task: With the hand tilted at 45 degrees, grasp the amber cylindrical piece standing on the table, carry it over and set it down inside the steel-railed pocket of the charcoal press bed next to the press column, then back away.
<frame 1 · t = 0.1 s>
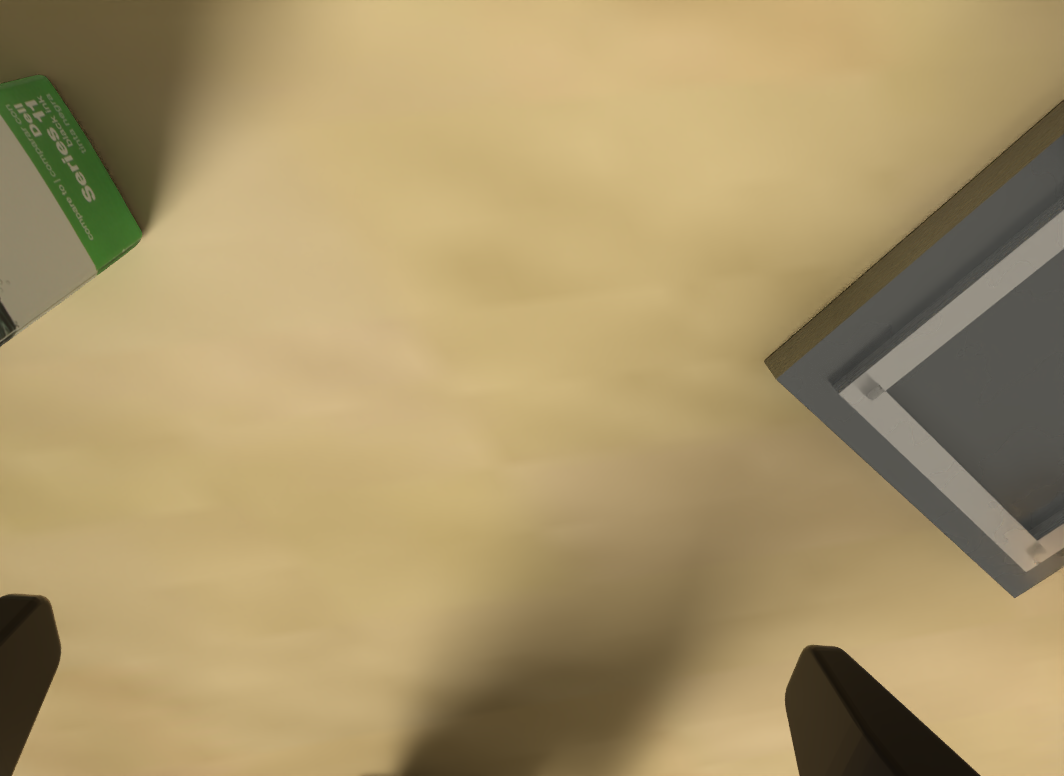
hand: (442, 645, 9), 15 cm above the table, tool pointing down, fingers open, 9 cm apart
press bed: (1058, 352, 24), on the table
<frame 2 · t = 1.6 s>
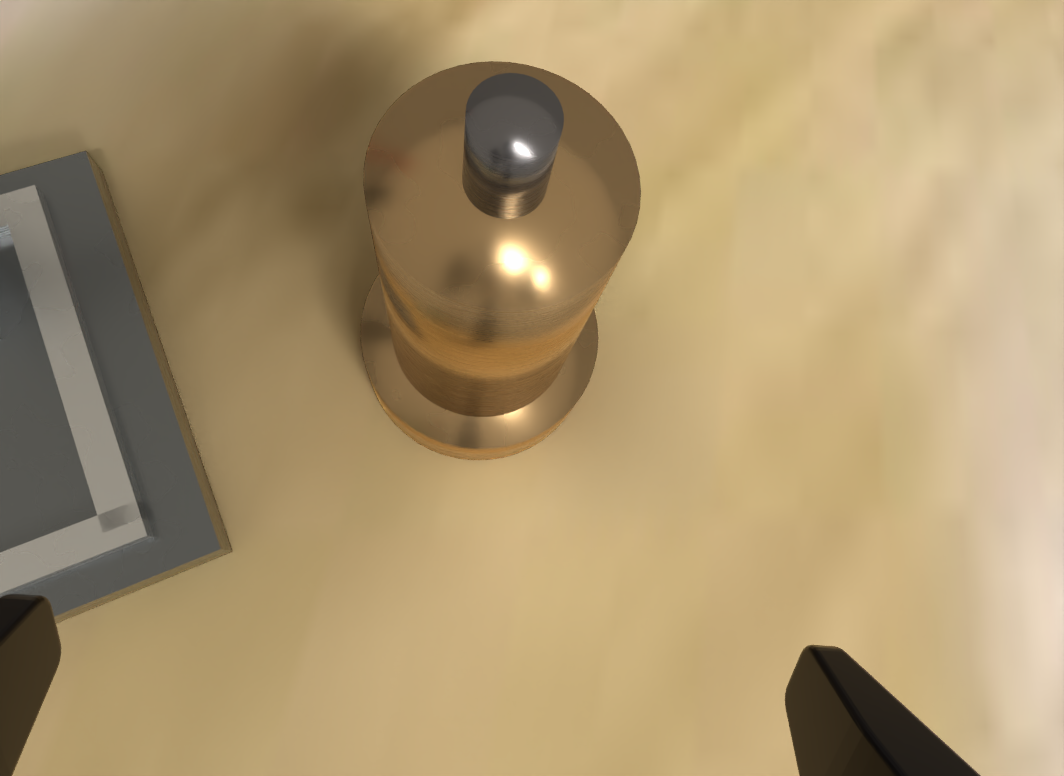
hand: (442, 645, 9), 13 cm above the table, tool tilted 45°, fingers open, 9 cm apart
amber cylindrical piece: (478, 352, 24), on the table
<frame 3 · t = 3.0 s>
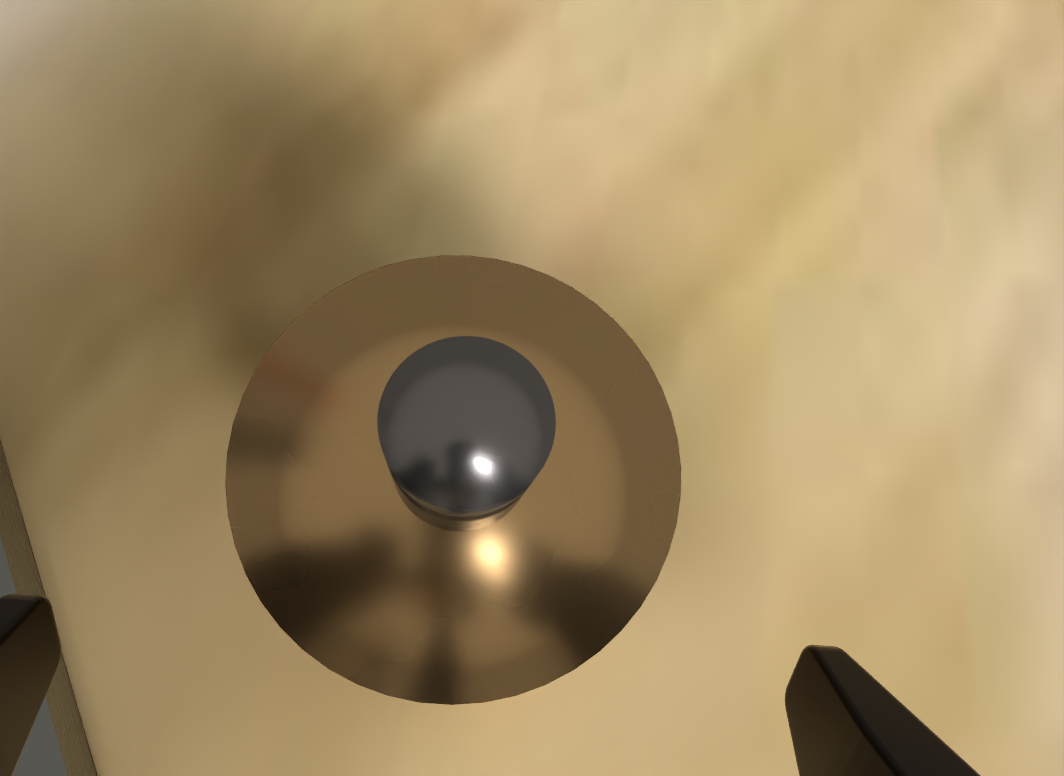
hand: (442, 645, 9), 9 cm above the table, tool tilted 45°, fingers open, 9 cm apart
amber cylindrical piece: (449, 540, 19), on the table
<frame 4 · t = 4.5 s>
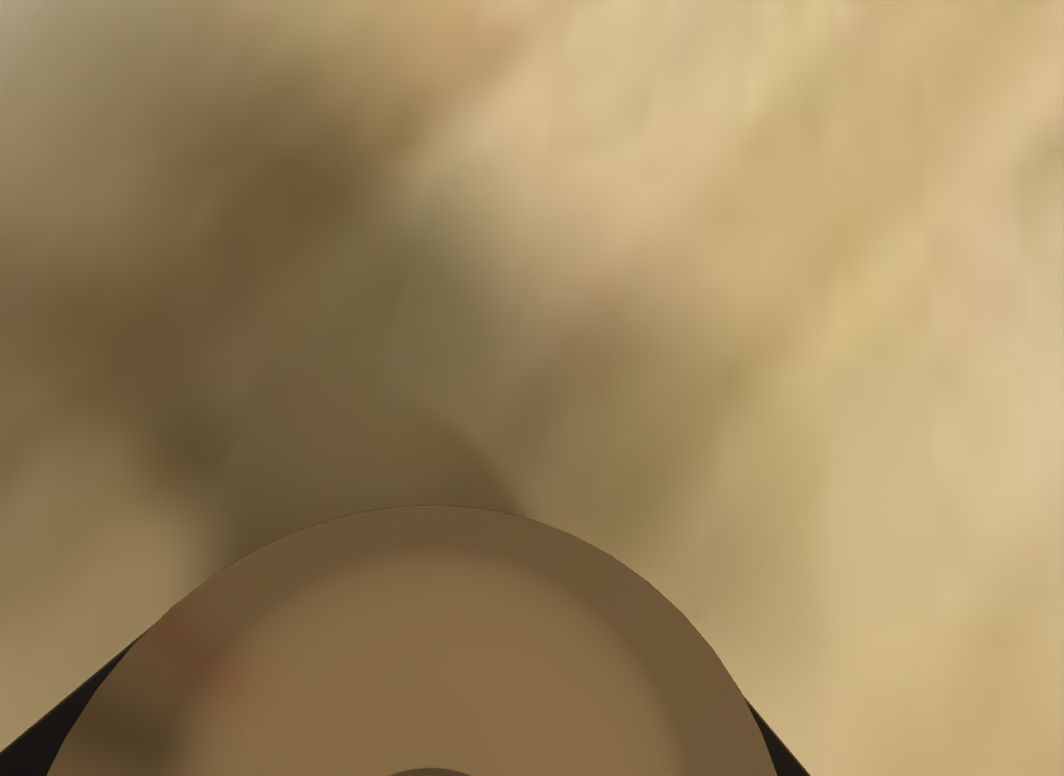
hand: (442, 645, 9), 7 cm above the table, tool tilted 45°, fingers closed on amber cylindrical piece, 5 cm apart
amber cylindrical piece: (434, 700, 15), on the table, touching gripper
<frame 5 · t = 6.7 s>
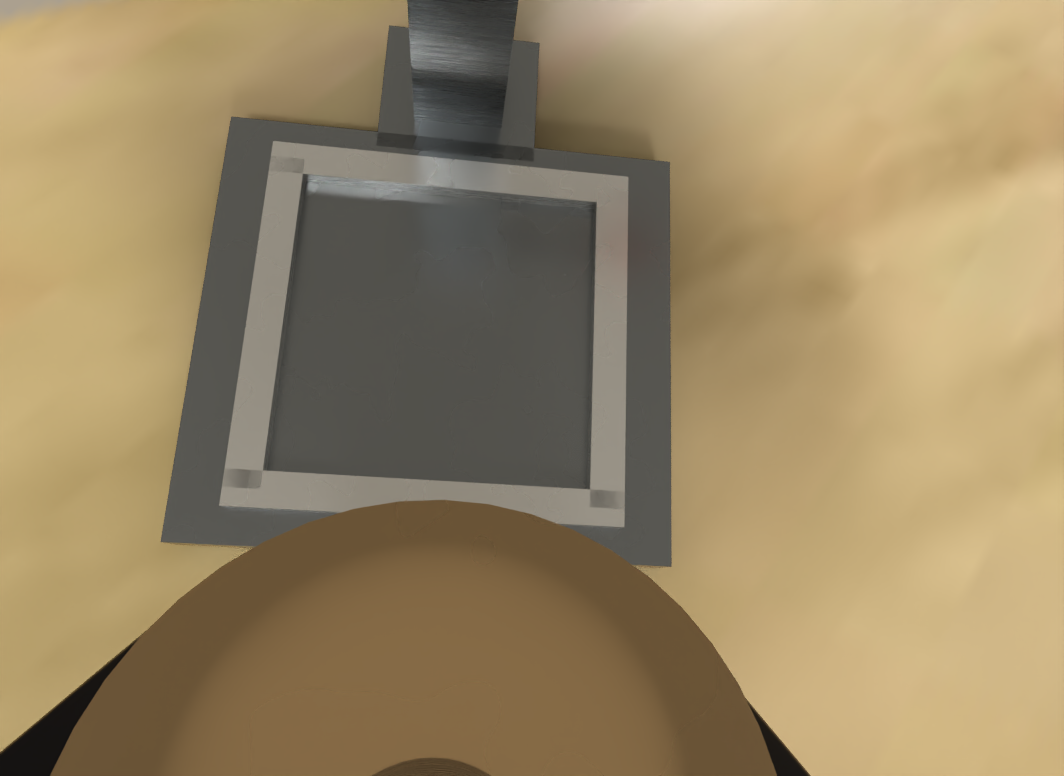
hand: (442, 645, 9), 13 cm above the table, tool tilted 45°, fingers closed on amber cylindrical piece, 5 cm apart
amber cylindrical piece: (435, 696, 15), point 6 cm above the table, touching gripper
press bed: (441, 344, 24), on the table
when the fingers open (9 cm above the table, at t = 9.2 s): amber cylindrical piece drops 1 cm, resting on press bed.
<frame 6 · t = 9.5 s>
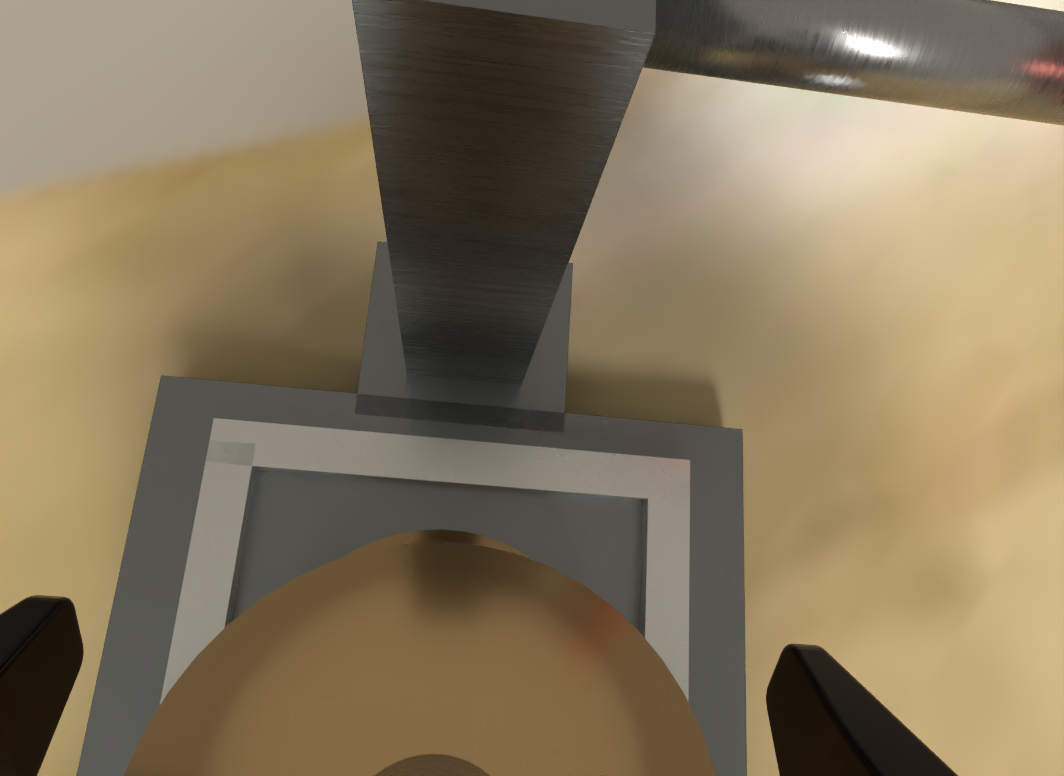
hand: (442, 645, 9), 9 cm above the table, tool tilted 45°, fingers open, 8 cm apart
amber cylindrical piece: (433, 701, 16), point 1 cm above the table, touching press bed
press bed: (435, 685, 18), on the table
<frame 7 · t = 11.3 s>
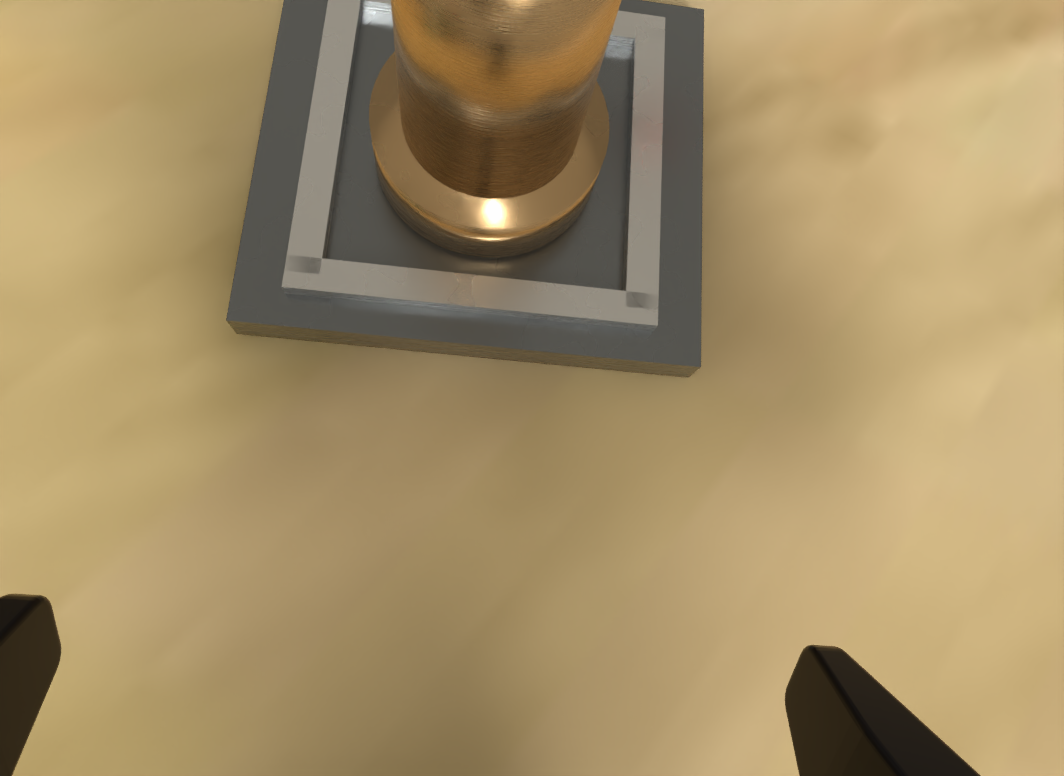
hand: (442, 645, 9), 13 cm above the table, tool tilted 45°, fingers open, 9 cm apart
amber cylindrical piece: (487, 155, 24), point 1 cm above the table, touching press bed
press bed: (486, 169, 25), on the table
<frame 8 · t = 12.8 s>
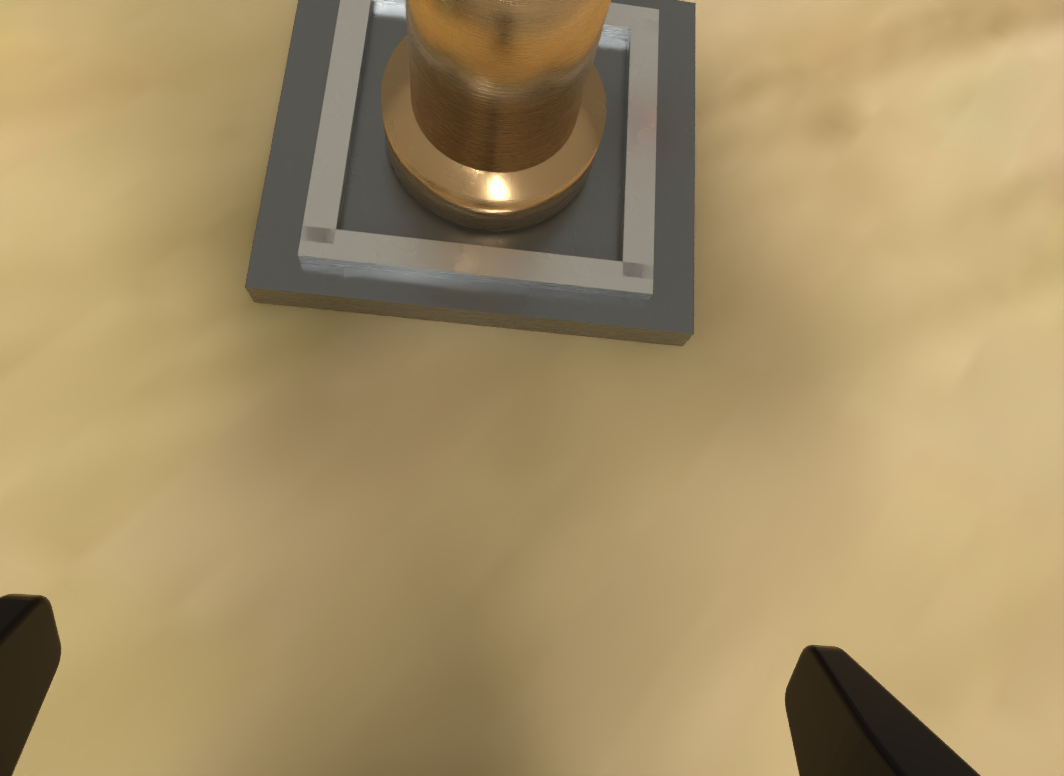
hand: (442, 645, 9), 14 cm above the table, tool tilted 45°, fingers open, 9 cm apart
amber cylindrical piece: (491, 136, 25), point 1 cm above the table, touching press bed
press bed: (490, 151, 27), on the table
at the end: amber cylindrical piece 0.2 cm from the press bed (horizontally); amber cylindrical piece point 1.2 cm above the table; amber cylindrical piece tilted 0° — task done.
